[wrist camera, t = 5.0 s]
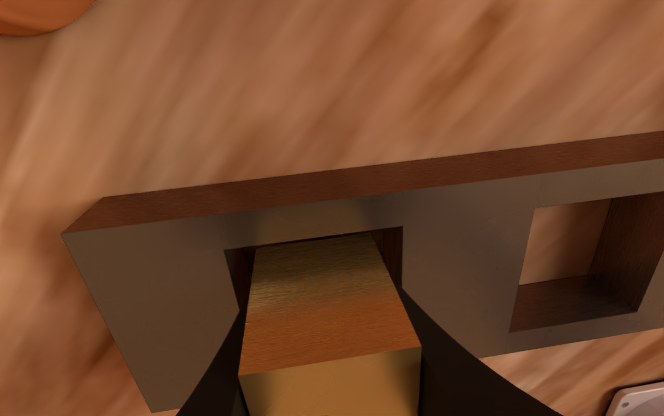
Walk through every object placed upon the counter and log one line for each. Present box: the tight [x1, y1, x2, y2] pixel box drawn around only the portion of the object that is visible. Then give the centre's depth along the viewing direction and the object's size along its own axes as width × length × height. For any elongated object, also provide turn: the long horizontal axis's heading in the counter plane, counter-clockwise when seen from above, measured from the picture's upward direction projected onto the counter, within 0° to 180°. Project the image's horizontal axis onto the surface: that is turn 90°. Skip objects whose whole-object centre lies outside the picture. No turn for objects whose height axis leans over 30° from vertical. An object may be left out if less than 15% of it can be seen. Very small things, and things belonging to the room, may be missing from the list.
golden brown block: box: [238, 233, 422, 416], centre depth 10 cm, size 4×4×5 cm
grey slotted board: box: [60, 131, 664, 413], centre depth 13 cm, size 22×8×2 cm, turn 94°
